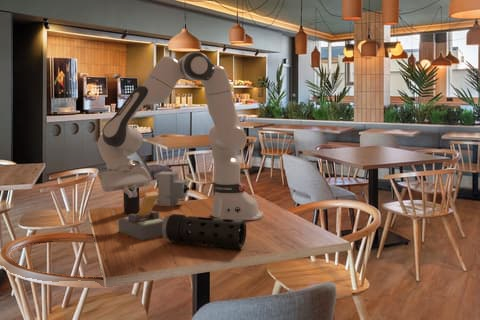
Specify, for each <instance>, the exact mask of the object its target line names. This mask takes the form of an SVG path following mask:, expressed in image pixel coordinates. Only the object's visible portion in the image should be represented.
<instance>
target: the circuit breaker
mask: <svg viewBox="0 0 480 320" xmlns="http://www.w3.org/2000/svg"><path fill="white" fill-rule="evenodd" d="M156 184H157V185H158V197H157V198H156V204H157V205H156V206H161V207H175V206H176V205H178V204H179V201H180V200H179V199H181V200H182V199H185V198H186V197H187V196H188V194H189V193H188V191H189V190H190V186H188V180H187V179H179V171H161V172H158V173H156ZM174 203H175V204H174Z"/></svg>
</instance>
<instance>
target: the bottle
mask: <svg viewBox="0 0 480 320" xmlns="http://www.w3.org/2000/svg"><path fill="white" fill-rule="evenodd" d="M129 190H130V191H133V190H131V189H129ZM136 192H137V194H138V195H137V197H131V198H129V196H128V194H126V193H125V192H123V191H122V193H123V213H124V214H127V215H128V214H132V213H133V214H136V215H137V214H138V213H139V210H140V207H141V205H140V203H141V202H140V201H141V200H140V187H138V188H137V189H136Z"/></svg>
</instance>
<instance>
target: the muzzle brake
mask: <svg viewBox="0 0 480 320" xmlns="http://www.w3.org/2000/svg"><path fill="white" fill-rule="evenodd" d="M163 219H164V221H163V225H162V234H163V238H164V239H166V240H168V241H170V242H176V243H182V245H188V246H192V245H193V244H198V245H199V244H200V245H207V247H210V246H211V247H215V248H225V249H232V250H234V249H235V250H241V249H242V247H243V246H244V245H245V243H246V239H247V225H246V220H230V219H219V218H216V217H207V216H206V217H205V216H202V217H201V216H193V215H189V216H186V215H185V214H179V213H177V214H176V213H173V214H171V215H165V217H164V218H163Z"/></svg>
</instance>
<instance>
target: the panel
mask: <svg viewBox="0 0 480 320" xmlns="http://www.w3.org/2000/svg"><path fill="white" fill-rule="evenodd" d="M164 219H165V218H161V217H159V212H158V211H156V210H152V211H151V217H149V218H144V219H140V216H139V215H137V213H136V214H133V213H132V214H127V216H125V217H122V218H120V217H119V218H118V232H120V233H122V234H124V235H127V236H129V237H132V238H135V239H138V240H139V241H140V240H141V241H144V240H150V239H154V238H158V237H162V236H163V234H162V225H163V221H164ZM163 237H164V236H163Z"/></svg>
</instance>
